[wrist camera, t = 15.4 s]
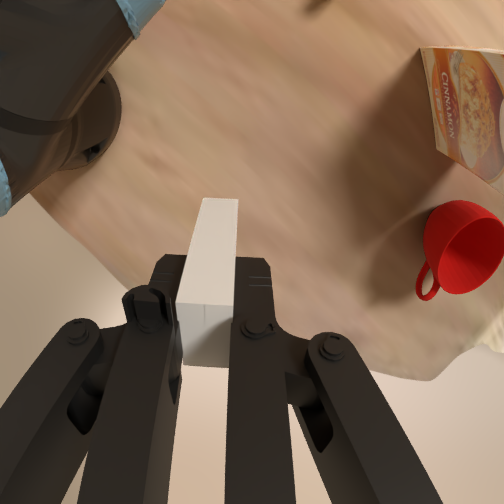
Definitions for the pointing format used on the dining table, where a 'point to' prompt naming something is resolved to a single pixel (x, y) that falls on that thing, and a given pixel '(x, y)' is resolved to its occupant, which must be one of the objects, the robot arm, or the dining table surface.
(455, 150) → the coffeecake box
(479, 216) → the ceramic cup
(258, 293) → the robot arm
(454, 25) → the dining table surface
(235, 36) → the dining table surface
